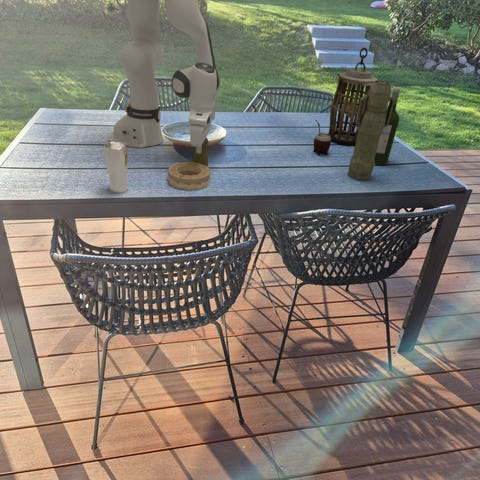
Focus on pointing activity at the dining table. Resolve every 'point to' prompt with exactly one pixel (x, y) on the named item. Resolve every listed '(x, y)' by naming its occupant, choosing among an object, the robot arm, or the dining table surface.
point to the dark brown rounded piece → (202, 154)
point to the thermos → (370, 129)
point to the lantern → (349, 103)
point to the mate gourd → (321, 142)
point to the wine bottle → (388, 133)
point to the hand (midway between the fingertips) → (200, 149)
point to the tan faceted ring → (189, 176)
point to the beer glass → (117, 166)
